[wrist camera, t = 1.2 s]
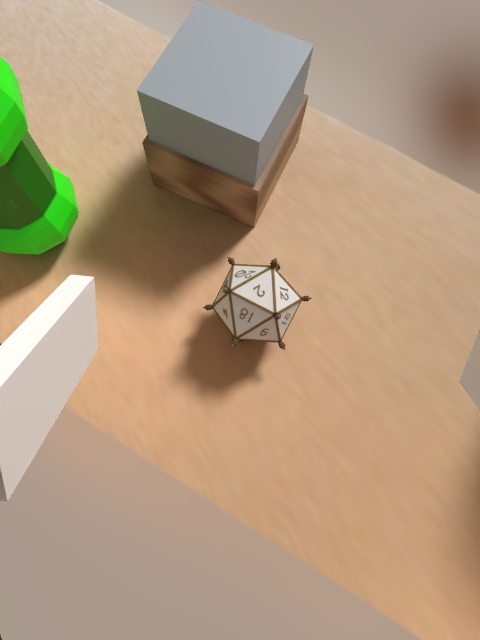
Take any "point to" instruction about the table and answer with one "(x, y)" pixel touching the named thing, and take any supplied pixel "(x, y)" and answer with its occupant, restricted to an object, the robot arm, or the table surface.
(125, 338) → the table surface
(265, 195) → the tower base
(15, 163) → the plastic bottle
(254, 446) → the table surface
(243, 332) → the game die
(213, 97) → the tower top
